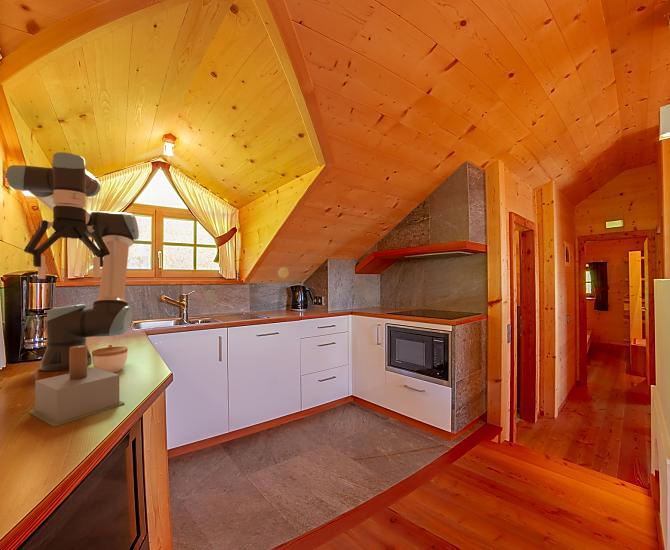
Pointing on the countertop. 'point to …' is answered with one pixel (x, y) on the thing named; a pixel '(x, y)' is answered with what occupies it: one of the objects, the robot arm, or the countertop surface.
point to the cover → (76, 389)
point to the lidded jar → (110, 358)
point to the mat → (71, 418)
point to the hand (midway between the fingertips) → (70, 278)
